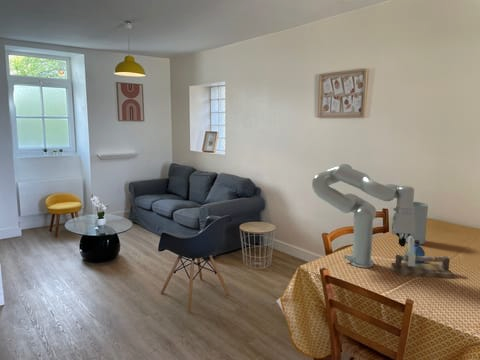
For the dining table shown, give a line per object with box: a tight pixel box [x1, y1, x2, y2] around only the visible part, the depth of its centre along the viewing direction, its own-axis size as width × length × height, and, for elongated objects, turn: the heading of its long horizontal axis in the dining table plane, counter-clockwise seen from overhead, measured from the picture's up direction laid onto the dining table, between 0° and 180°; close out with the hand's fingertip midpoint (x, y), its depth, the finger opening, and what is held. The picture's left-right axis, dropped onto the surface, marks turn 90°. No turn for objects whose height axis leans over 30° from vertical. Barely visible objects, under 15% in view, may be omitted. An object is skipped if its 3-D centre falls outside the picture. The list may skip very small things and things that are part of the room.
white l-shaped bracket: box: [403, 236, 416, 266], centre depth 182 cm, size 3×6×14 cm, turn 174°
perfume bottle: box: [406, 240, 426, 264], centre depth 195 cm, size 6×6×12 cm
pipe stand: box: [390, 254, 455, 279], centre depth 182 cm, size 26×12×8 cm, turn 84°
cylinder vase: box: [406, 201, 429, 246], centre depth 227 cm, size 12×12×25 cm
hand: (401, 245), depth 182 cm, fingers closed
